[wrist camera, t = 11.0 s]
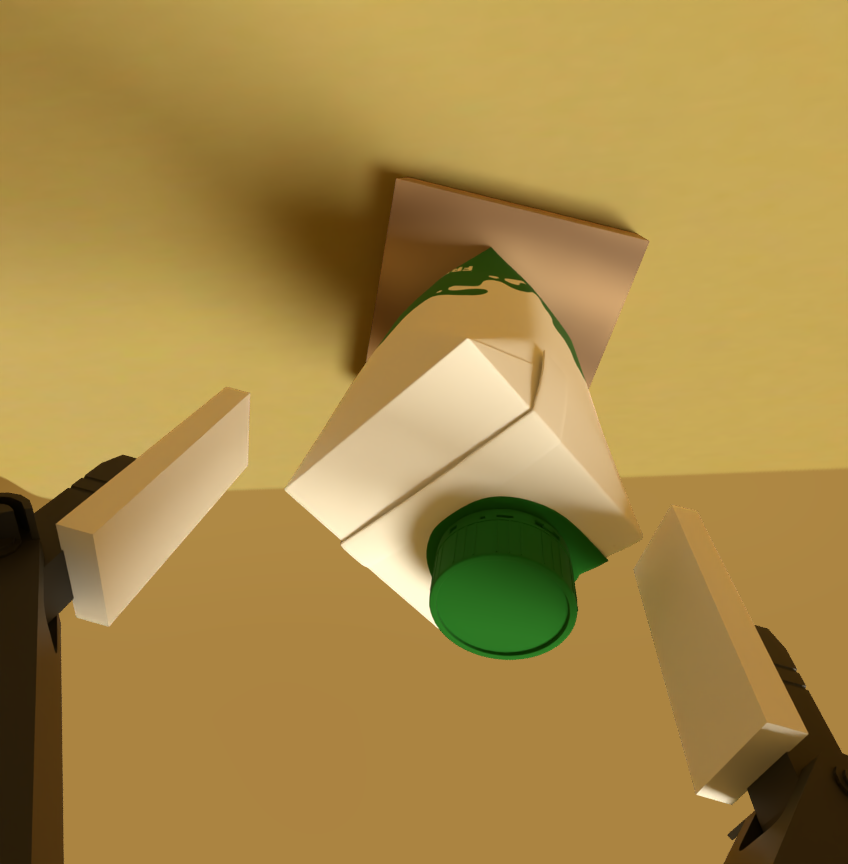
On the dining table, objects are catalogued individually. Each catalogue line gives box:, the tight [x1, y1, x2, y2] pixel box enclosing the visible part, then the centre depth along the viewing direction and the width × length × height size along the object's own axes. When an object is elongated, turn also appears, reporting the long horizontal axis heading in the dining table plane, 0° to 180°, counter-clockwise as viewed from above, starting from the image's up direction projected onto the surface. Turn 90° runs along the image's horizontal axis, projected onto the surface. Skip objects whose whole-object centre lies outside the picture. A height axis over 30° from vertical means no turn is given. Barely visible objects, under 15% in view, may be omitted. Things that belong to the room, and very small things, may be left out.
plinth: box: [366, 177, 649, 390], centre depth 32 cm, size 14×14×4 cm
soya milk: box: [285, 247, 643, 660], centre depth 22 cm, size 9×9×20 cm
